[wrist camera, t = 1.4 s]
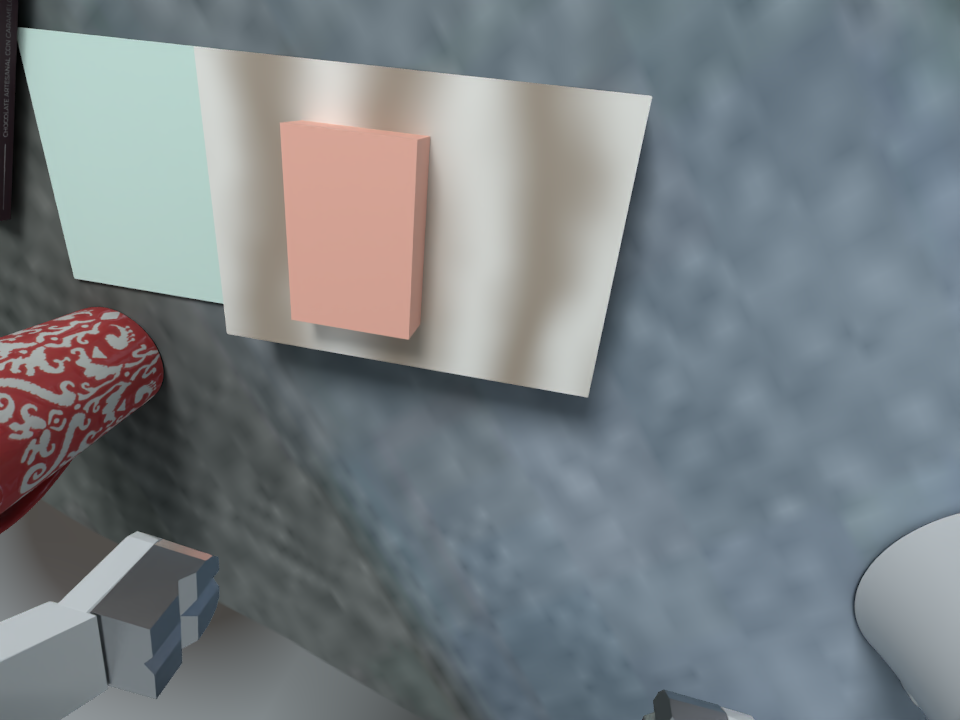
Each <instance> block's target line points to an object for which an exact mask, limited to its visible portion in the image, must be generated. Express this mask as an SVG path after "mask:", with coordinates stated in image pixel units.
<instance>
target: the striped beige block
mask: <svg viewBox="0 0 960 720" xmlns="http://www.w3.org/2000/svg"><path fill="white" fill-rule="evenodd" d="M194 55H195V63H196V72H197V81H198V89H199V98H200V106H201V115H202V123H203V132H204V140H205V149H206V157H207V166H208V175H209V183H210V192H211V200H212V209H213V217H214V226H215V234H216V243H217V252H218V260H219V269H220V277H221V286H222V294H223V303H224V311H225V320H226V328H227V334H232V335H237V336H243V337H249V338H254V339H260V340H266V341H271V342H277V343H283V344H288V345H294V346H300V347H305V348H311V349H316V350H322V351H328V352H333V353H339V354H345V355H350V356H356V357H362V358H367V359H373V360H379V361H384V362H390V363H396V364H401V365H407V366H413V367H418V368H424V369H429V370H435V371H441V372H446V373H452V374H458V375H463V376H469V377H475V378H480V379H486V380H492V381H497V382H503V383H509V384H514V385H520V386H525V387H531V388H537V389H542V390H548V391H554V392H559V393H565V394H571V395H576V396H582V397H588V395H589V390H590V386H591V381H592V376H593V372H594V367H595V362H596V358H597V353H598V348H599V343H600V339H601V334H602V329H603V325H604V320H605V315H606V311H607V306H608V301H609V297H610V292H611V287H612V283H613V278H614V273H615V268H616V264H617V259H618V254H619V250H620V245H621V240H622V236H623V231H624V226H625V222H626V217H627V212H628V207H629V203H630V198H631V193H632V189H633V184H634V179H635V175H636V170H637V165H638V161H639V156H640V151H641V146H642V142H643V137H644V132H645V128H646V123H647V118H648V114H649V109H650V104H651V100H652V96H647V95H638V94H629V93H620V92H611V91H602V90H592V89H583V88H574V87H565V86H556V85H546V84H537V83H528V82H519V81H510V80H500V79H491V78H482V77H473V76H464V75H454V74H445V73H436V72H427V71H418V70H408V69H399V68H390V67H381V66H371V65H362V64H353V63H344V62H335V61H325V60H316V59H307V58H298V57H289V56H279V55H270V54H261V53H252V52H243V51H233V50H224V49H214V48H205V47H196V46H194ZM300 120H304V121H312V122H320V123H328V124H336V125H344V126H352V127H360V128H368V129H376V130H385V131H393V132H401V133H409V134H417V135H425V136H430V152H429V171H428V190H427V209H426V228H425V247H424V266H423V285H422V303H421V322H420V325H419V327H418V328H417V329H416V331H415V332H414V333H413V335H412V336H411V337H410V339H409V340H407V339H401V338H395V337H389V336H384V335H378V334H372V333H366V332H360V331H354V330H349V329H343V328H337V327H331V326H325V325H319V324H313V323H308V322H302V321H296V320H291V303H290V286H289V269H288V253H287V236H286V219H285V202H284V185H283V169H282V152H281V135H280V123H281V122H291V121H300Z"/></svg>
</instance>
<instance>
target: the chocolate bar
mask: <svg viewBox="0 0 960 720" xmlns="http://www.w3.org/2000/svg"><path fill="white" fill-rule="evenodd" d="M17 25H18V0H0V221H3V220H9V219H11V195H12V167H13V138H14V110H15V82H16V53H17Z"/></svg>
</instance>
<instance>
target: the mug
mask: <svg viewBox="0 0 960 720" xmlns="http://www.w3.org/2000/svg"><path fill="white" fill-rule="evenodd" d="M162 381H163V365H162V360H161V357H160V354H159V352H158V350H157V348H156V346H155V344H154V343H153V341H152V339H151V338H150V337H149V335H148V334H147V333H146V332H145V331H144V330H143V329H142V328H141V327H140V326H139V325H138V324H137V323H136V322H134V321H133V320H132V319H130V318H129V317H127V316H125V315H124V314H122V313H120V312H118V311H115V310H112V309H109V308H104V307H90V308H86V309H82V310H79V311H76V312H73V313H70V314H67V315H65V316H62V317H59V318H56V319H54V320H51V321H48V322H45V323H42V324H39V325H36V326H33V327H30V328H28V329H25V330H22V331H19V332H16V333H13V334H10V335H7V336H4V337H1V338H0V534H1V533H2V532H3V531H5V530H7V529H8V528H9V527H10V526H12V525H13V524H14V523H16V522H17V521H18V520H19V519H20V518H21V517H23V516H24V515H25V514H26V513H27V512H28V511H29V510H30V509H31V508H32V507H33V506H34V505H35V504H36V503H37V502H38V501H39V500H40V499H41V498H42V497H43V496H44V495H45V493H46V492H47V491H48V490H49V489H50V487H51V486H52V485H53V484H54V483H55V481H56V480H57V479H58V478H59V476H60V475H61V474H62V473H63V471H64V470H65V469H66V467H67V466H68V465H69V464H70V462H71V461H72V459H73V458H74V457H76V456H77V455H78V454H79V453H81V452H82V451H83V450H85V449H86V448H87V447H88V446H90V445H91V444H92V443H94V442H95V441H96V440H98V439H99V438H100V437H102V436H103V435H104V434H106V433H107V432H108V431H109V430H111V429H112V428H113V427H114V426H116V425H117V424H118V423H120V422H121V421H122V420H124V419H125V418H126V417H127V416H129V415H130V414H131V413H133V412H134V411H136V410H137V409H138V408H140V407H141V406H142V405H144V404H145V403H146V402H147V401H149V400H150V399H151V398H152V397H153V396H154V395H155V394H156V393H157V392H158V390H159V389H160V386H161V384H162Z"/></svg>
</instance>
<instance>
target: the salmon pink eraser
mask: <svg viewBox="0 0 960 720" xmlns="http://www.w3.org/2000/svg"><path fill="white" fill-rule="evenodd" d="M280 135H281V152H282V169H283V185H284V202H285V219H286V236H287V253H288V269H289V286H290V303H291V320H296V321H302V322H308V323H313V324H319V325H325V326H331V327H337V328H343V329H349V330H354V331H360V332H366V333H372V334H378V335H384V336H389V337H395V338H401V339H407V340H409V339H410V337H411V336H412V335H413V333H414V332H415V331H416V329H417V328H418V327H419V325H420V322H421V303H422V285H423V266H424V247H425V228H426V209H427V190H428V171H429V152H430V136H425V135H417V134H409V133H401V132H393V131H385V130H376V129H368V128H360V127H352V126H344V125H336V124H328V123H320V122H312V121H304V120H300V121H291V122H281V123H280Z"/></svg>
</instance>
